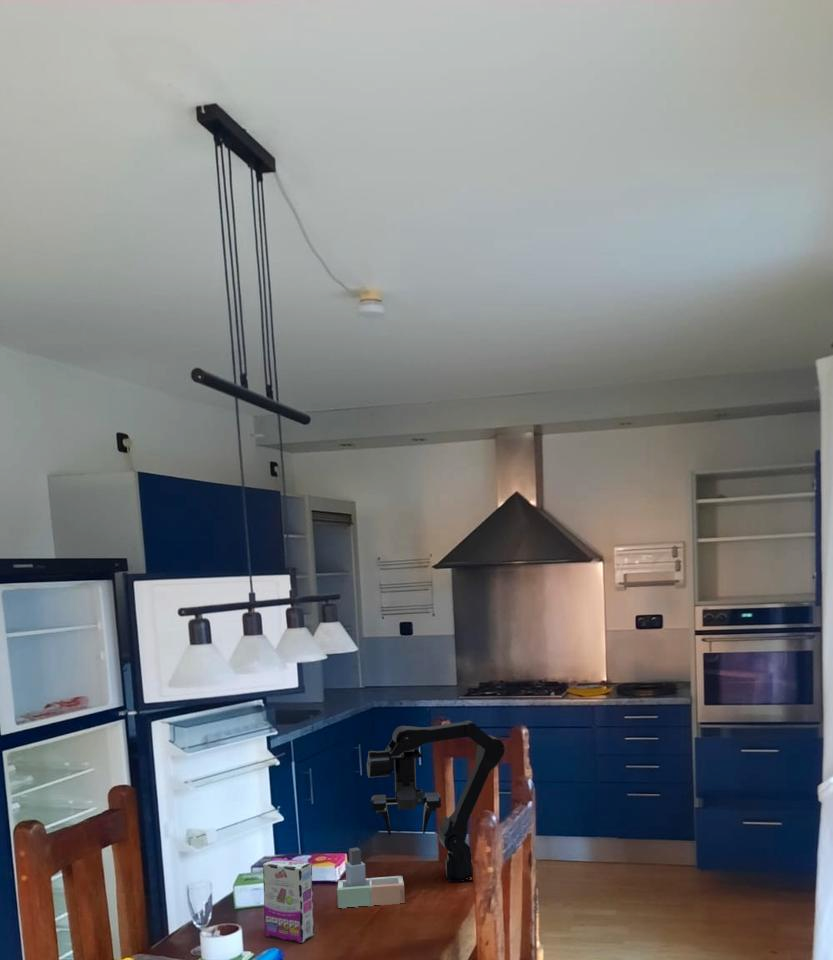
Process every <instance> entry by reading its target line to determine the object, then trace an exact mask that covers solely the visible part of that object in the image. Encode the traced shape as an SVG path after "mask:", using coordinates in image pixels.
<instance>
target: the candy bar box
mask: <svg viewBox="0 0 833 960" xmlns="http://www.w3.org/2000/svg"><path fill="white" fill-rule="evenodd" d="M312 866H313V863H312V862H309V861H308V862H307V861H301V860H295V859H294V860H292V859H285V858H277V857H275V858H272V859H270V860H268V861H266V862H264V863H263V864H262V872H263V873H262V874H263V877H262V879H263V912H264V913H263V915H264V918H263V919H264V920H263V921H264V936H265V937H268V938H273V939H278V940H282V941H283V940H284V941H288V942H294V943H300V944H303V943H305V942H307V941H308V940H309V939H311V938H312V937H314V936H315V932H314V931H315V930H314V929H315V926H314V896H313V867H312Z"/></svg>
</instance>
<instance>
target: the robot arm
mask: <svg viewBox="0 0 833 960" xmlns="http://www.w3.org/2000/svg"><path fill="white" fill-rule="evenodd" d="M462 738H469V739H470V740H471V741H472V742H473V743H474V744H475V745H476V746H477V748H476V751H475V752H476V753H475V761H474V762H475V763H474V766H473V769H472V771H471V773H470V775H469V777H468V780H467V782H466V784H465V786H464V788H463V791H462V793H461V795H460V798H459V801H458V802H457V804H456V807H455V809H454V811H453V812H452V814H451V815H450V816H449V817H448V816H447V815H444V816H443V817H442V821H441V824H440V826H439V827H438V828H437V829H438V834H437V835H438V836H437V837H438V839H439V842H440V843H441V845H442V846H443V847H444V848H445V850H446V851H447V854H446V855H447V856H446V857H447V858H446V859H445V871H446V872H445V874H446V878H447V879H448V880H449V883H458V882H459V881H462V880H469V879H470V878H469V877H472V881H471V882H473V881H474V880H473V878H474V877H473V865H472V864H473V862H472V863H471V860H472V858H471V853H470V847H471V846H470V845H469V844H468V843H467V842H466V839H467V835H468V827H469V820H470V818H471V816H470V814H471V815H472V814H473V812H474V810H475V809H474V808H475V807H476V804H477V803H478V800H479V798H480V795H481V793H482V791H483V788H484V787H485V784H486V782H487V780H488V777H489V774H490V773H491V772H492V770H493V769H495V767H497V766H498V764H499V762H500V761H501V760H502V758H503V757H504V755H505V753H506V748H505V745H504V743H503V741H502V740H500V739H498V738H496V737H495V736H493V735H488V734H487V733H486V732H484V731H483V730H481V728H480V727H478V726H477V725H476V724H475V723H474V722H472V721H470V720H464V721H460V722H454V723H452V722H451V723H447V724H446V723H445V724H440V725H434V726H433V725H432V726H427V727H424V726H423V727H422V726H421V727H420V726H414V725H413V726H411V725H408V726H407V725H400V726H398V727H396V728H395V729H394V730H393V733H392V738H391V740H390V742H389V743H388V745H387V746H386V748H385V750H377V751H375V750H368V752H367V754H368V756H367V759H366V760H367V761H366V773H367V777H368V778H369V779H370V778H371V779H373V778H380V777H381V778H383V777H390V775H391V774H392V773H394V791H395V793H394V795H395V797H390V798H389V797H388V798H387V797H386V796H387V795H386V794H373V795H372V796H371V811H372V812H373V811H374V812H376V814H380V815H381V817H382V819H383V822H384V824H385V827H386V830H387V833H388V835H389V837H390V836H392V835H391V834H392V833H391V825H390V824H391V823H390V817H389V813H388V812H389V810H388V807H389V806H391V807H392V806H397V809H398V810H399V811H404V810H405V811H406V810H411V811H412V810H416V809H417V805H424V806H423V817H422V819H423V820H422V834H423V835H425V833H426V830H427V827H428V823H429V819H430V818H431V815H432V813H433V812H435V811H436V812H437V808H438V809H439V808H442V800H441V798H442V797H441V795H440V793H439V792H425V793H424V791H423V788H417V780H416V779H417V776H416V775H417V774H416V759H418V758H420V759H421V758H423V753H421V752H420V751H419V750H418V748H420V747H423V746H425V745H426V744H429V743H436V742H440V741H441V742H442V741H448V740H454V739H462ZM466 878H468V879H466ZM462 882H463V881H462Z"/></svg>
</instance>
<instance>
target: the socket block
mask: <svg viewBox="0 0 833 960" xmlns="http://www.w3.org/2000/svg"><path fill="white" fill-rule="evenodd" d="M336 891H337V892H336V893H337V909H338V908H342V909H348V908H347V907H355V908H359V907H358V906H368V907H375V906H374V905H381V906H390V905H391V906H393V904H394V905H401V904H400V903H405V904H406V901H405V900H406V899H405V898H406V896H405V895H406V894H405V882H404V880H403V875H394V876H393V875H392V876H382V877H369V878H368V877H366V886H356V887H346V879H342V880H341V879H338V882H337V890H336Z"/></svg>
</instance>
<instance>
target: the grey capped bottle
mask: <svg viewBox="0 0 833 960" xmlns="http://www.w3.org/2000/svg"><path fill="white" fill-rule="evenodd" d="M348 857H349V858H348V861H347V862H345V864H344V865H345V880H346V887H356V886H366V878H367V876H366V863H364V862H363V861H362V850H361V849H360V848H359V847H352V848H351V847H350V848H349V849H348Z"/></svg>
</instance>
